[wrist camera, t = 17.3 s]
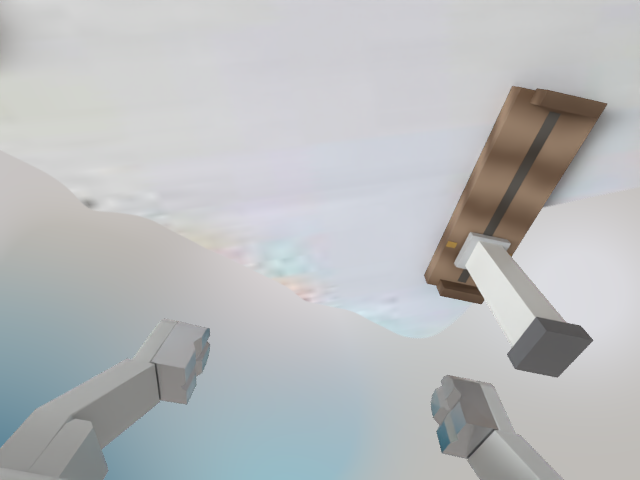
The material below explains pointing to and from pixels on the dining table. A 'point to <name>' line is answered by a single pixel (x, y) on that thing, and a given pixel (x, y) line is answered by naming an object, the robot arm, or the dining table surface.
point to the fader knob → (521, 308)
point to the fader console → (512, 178)
